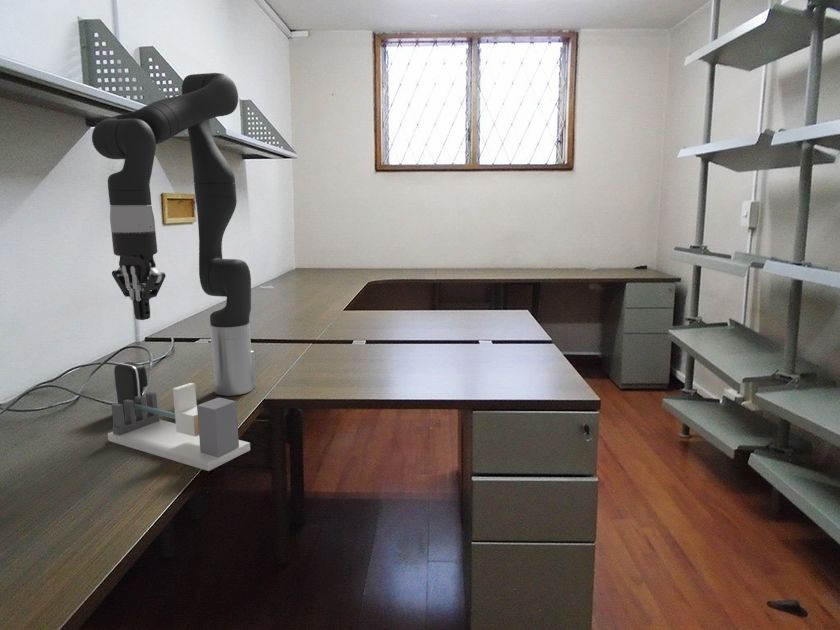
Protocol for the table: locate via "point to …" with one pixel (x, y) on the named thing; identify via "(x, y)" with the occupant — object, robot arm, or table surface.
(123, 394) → the battery charger
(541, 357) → the table surface
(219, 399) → the cable jig
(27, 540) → the table surface
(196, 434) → the sleeve
